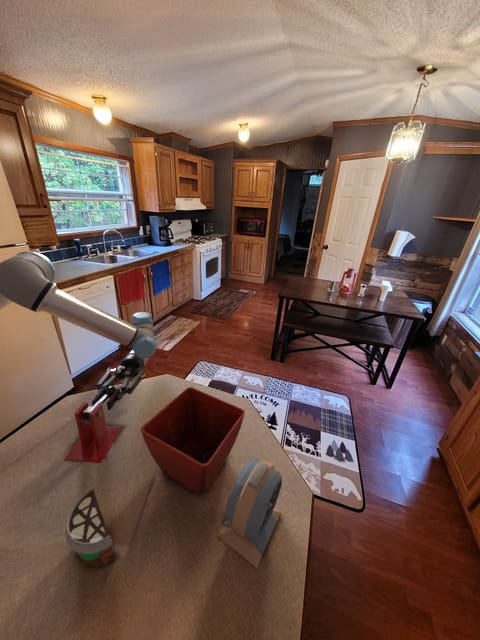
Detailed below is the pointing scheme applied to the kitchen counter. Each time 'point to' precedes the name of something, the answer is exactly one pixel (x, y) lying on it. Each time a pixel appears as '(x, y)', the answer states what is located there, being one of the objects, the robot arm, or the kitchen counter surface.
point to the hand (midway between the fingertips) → (101, 405)
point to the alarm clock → (252, 510)
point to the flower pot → (193, 437)
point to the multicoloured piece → (89, 532)
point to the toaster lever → (89, 409)
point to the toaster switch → (92, 436)
